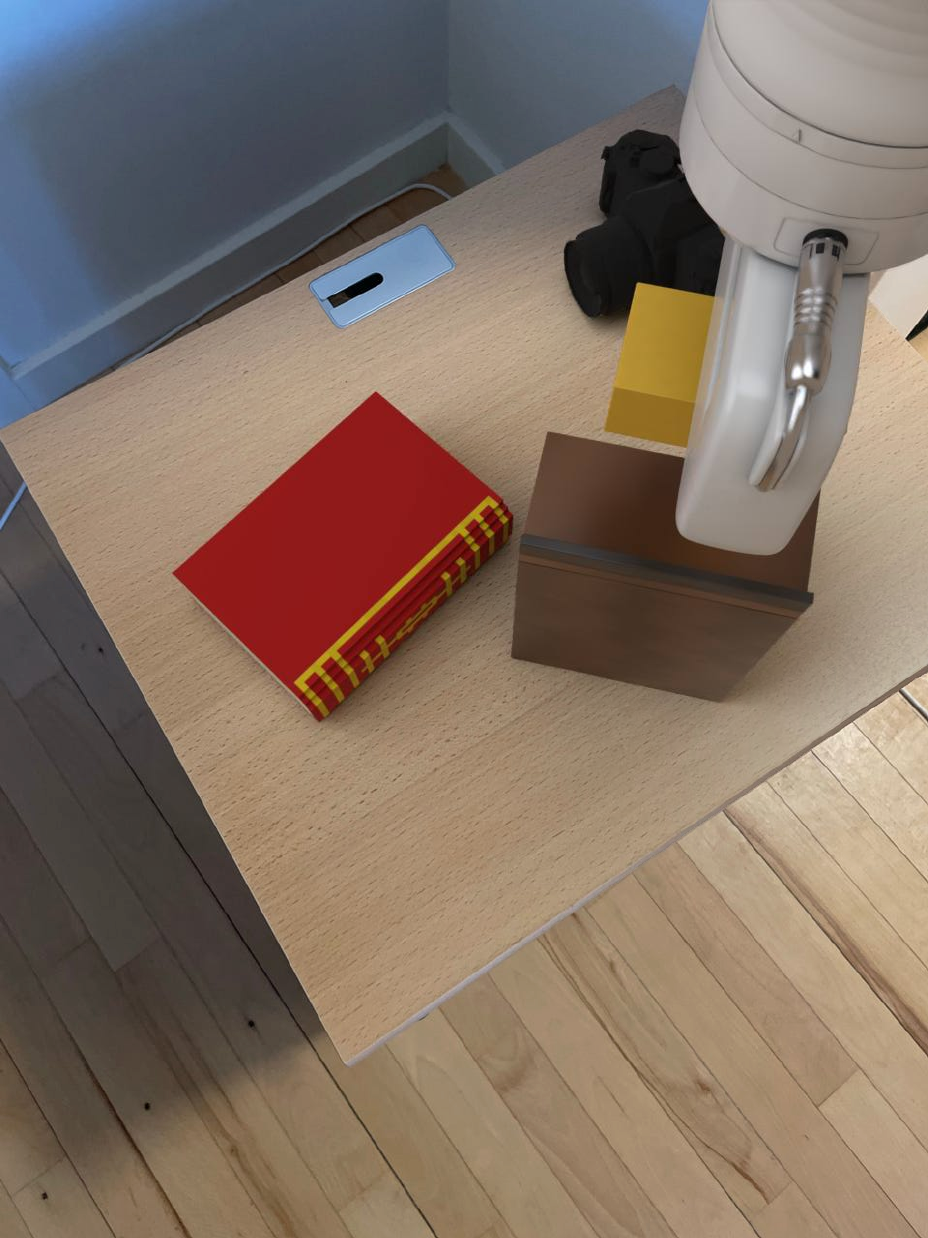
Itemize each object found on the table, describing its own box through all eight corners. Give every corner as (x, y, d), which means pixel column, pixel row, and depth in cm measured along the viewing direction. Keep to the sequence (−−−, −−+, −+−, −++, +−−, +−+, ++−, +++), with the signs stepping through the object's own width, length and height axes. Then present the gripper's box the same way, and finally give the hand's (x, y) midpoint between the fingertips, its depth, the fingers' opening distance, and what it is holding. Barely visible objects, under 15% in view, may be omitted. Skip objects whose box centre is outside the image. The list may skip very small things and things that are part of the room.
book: (321, 726, 64) (308, 707, 59) (194, 599, 67) (171, 573, 62) (511, 539, 68) (513, 508, 63) (383, 428, 71) (375, 390, 66)
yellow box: (625, 332, 43) (637, 281, 40) (832, 372, 42) (861, 323, 39) (603, 431, 42) (614, 386, 38) (817, 475, 41) (847, 432, 37)
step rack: (748, 525, 68) (829, 392, 52) (720, 703, 64) (799, 619, 48) (550, 485, 69) (568, 343, 53) (510, 657, 65) (518, 561, 49)
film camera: (529, 228, 77) (534, 137, 68) (639, 184, 78) (657, 89, 69) (619, 380, 72) (637, 303, 63) (735, 331, 73) (768, 249, 65)
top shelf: (815, 492, 50) (830, 472, 48) (799, 619, 48) (813, 603, 46) (546, 439, 51) (548, 418, 49) (518, 561, 49) (519, 543, 47)
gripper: (934, 454, 24) (775, 632, 37) (989, -130, 30) (836, 199, 43) (674, 404, 24) (608, 596, 37) (782, -158, 31) (693, 175, 44)
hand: (731, 380), depth 40 cm, fingers closed on yellow box, 5 cm apart
